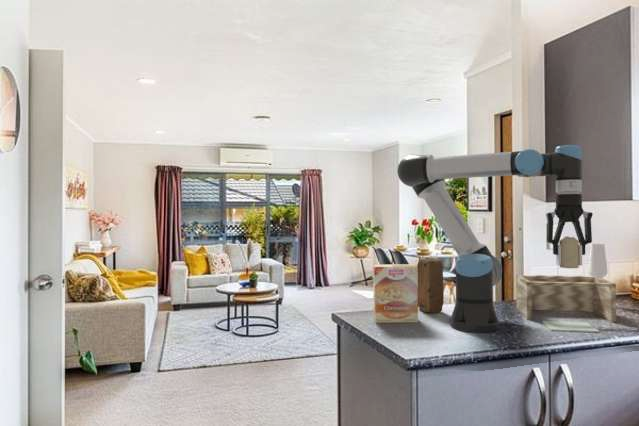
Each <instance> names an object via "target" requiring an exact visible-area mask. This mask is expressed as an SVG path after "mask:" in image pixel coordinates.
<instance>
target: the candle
mask: <svg viewBox="0 0 639 426" xmlns="http://www.w3.org/2000/svg"><path fill="white" fill-rule="evenodd" d="M558 245H561V265H559V268H564V269H579V245H580V243H579V241H578V238H577V239H576V237H575V236H571V237H570V236H567V235H566V236H563V238H560V240H559V244H558Z"/></svg>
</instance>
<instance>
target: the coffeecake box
mask: <svg viewBox="0 0 639 426" xmlns="http://www.w3.org/2000/svg"><path fill="white" fill-rule="evenodd" d="M372 269H373V271H372V272H373V274H372V277H373V283H372V285H373V289H372V290H373V291H372V292H373V293H372V294H373V309H372V310H373V320H374V323H376V324H380V323H381V324H385V323H387V324H388V323H391V324H392V323H396V324H397V323H404V324H405V323H419V307H418V267H417V264H414V263H413V264H411V263H409V264H405V263H401V264H400V263H399V264H389V263H388V264H385V263H384V264H381V263H380V264H372Z"/></svg>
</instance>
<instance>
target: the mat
mask: <svg viewBox="0 0 639 426" xmlns="http://www.w3.org/2000/svg"><path fill="white" fill-rule="evenodd" d="M541 322H542V324H543V325H544V326H545V327H546V328H547V329H548V330H549V331H552V332H572V333H573V332H576V333H577V332H578V333H579V332H580V333H598V334H599V333H600V330H599V329H597V328H596V327H595V326H593V325H591V324H590V323H589V322H587V321H586V322H584V321H558V320H557V321H555V320H541Z"/></svg>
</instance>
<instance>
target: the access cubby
mask: <svg viewBox="0 0 639 426" xmlns="http://www.w3.org/2000/svg"><path fill="white" fill-rule="evenodd" d="M515 281H516V282H515V283H516V286H515V287H516V290H515V291H516V295H515V296H516V309H517V311H518V312H519V313H520V314H521V315H522V316H523V317H524V318H525V320H531V321H532V319H533V317H532V316H533V315H532V313H533V310H535V311H538V310H539V311H557V312H558V311H562V312H563V311H564V312H591V313H592V312H594V313H595V314H597V316H600V317H601V318H603V319H604V320H606V321H608V322H610V323H616V322H617V299H616V298H617V291H616V290H617V289H616V288H617V287H616V284H617V283H614V282H613V281H610V280H607V279H605V278H600V277H597V276H591V275H551V274H550V275H548V274H545V275H544V274H543V275H541V274H539V275H538V274H516V276H515Z"/></svg>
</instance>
